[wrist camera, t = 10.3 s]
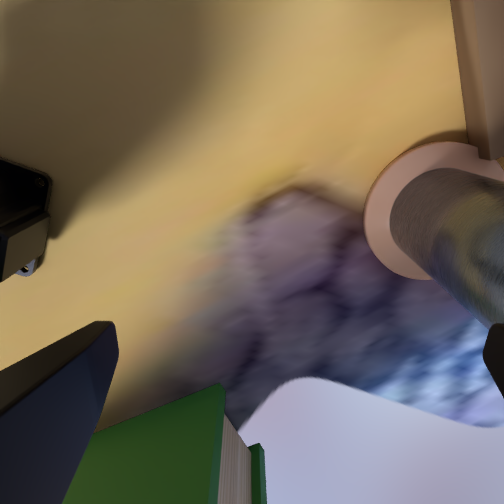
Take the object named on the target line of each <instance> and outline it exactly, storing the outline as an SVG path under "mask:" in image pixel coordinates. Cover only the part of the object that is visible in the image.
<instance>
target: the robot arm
mask: <svg viewBox="0 0 504 504" xmlns="http://www.w3.org/2000/svg"><path fill="white" fill-rule="evenodd" d="M39 178H41V179H42V180H43V181H44V186H42V185H41V184H40V183H39ZM51 190H52V179H51V177H50V176H49V175H48V174H46V173H44V172H41V171H38V170H35V169H33V168H30V167H27V166H24V165H22V164H19V163H16V162H13V161H10V160H8V159H5V158H2V157H0V283H1V282H3V281H4V280H6V279H7V278H9V277H10V276H11V275H13V274H14V273H15V274H18V275H21V276H26V277H27V276H30V275H31V274H33V273H34V272H35V271H36V269H37V264H38V258H39V256H40V255H41V254H43V252H44V248H45V242H46V237H47V232H48V227H49V222H50V215H49V213H48V205H49V200H50V195H51ZM24 266H27V267H28V268H29V270H27V269H25V268H24ZM118 357H119V348H118V341H117V335H116V328H115V325H114V323H113V322H112V321H94V322H92V323H90V324H88V325H87V326H85V327H83V328H81V329H79V330H77V331H75V332H73V333H71V334H70V335H68V336H66V337H64V338H62V339H60V340H58V341H56V342H54V343H53V344H51V345H49V346H47V347H45V348H43V349H41V350H39V351H37V352H35V353H34V354H32V355H30V356H28V357H26V358H24V359H22V360H20V361H18V362H17V363H15V364H13V365H11V366H9V367H7V368H5V369H3V370H1V371H0V504H62V502H63V500H64V498H65V496H66V493H67V491H68V489H69V487H70V484H71V482H72V480H73V478H74V475H75V473H76V471H77V469H78V466H79V464H80V462H81V459H82V457H83V455H84V453H85V450H86V448H87V446H88V444H89V441H90V439H91V437H92V435H93V432H94V430H95V428H96V425H97V423H98V420H99V418H100V415H101V412H102V409H103V406H104V403H105V400H106V397H107V393H108V390H109V387H110V384H111V381H112V377H113V374H114V371H115V368H116V365H117V362H118ZM483 360H484V363H485V365H486V367H487V368H488V370H489V372H490V374H491V376H492V378H493V379H494V381H495V383H496V385H497V387H498V389H499V390H500V392H501V394H502V396H503V398H504V323H495V324H493V325H492V326H491V327H490V329H489V332H488V336H487V339H486V343H485V346H484V349H483Z"/></svg>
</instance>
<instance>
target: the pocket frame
mask: <svg viewBox="0 0 504 504" xmlns="http://www.w3.org/2000/svg"><path fill="white" fill-rule="evenodd" d="M450 2H451V10H452V18H453V26H454V33H455V41H456V49H457V57H458V65H459V72H460V80H461V88H462V96H463V103H464V111H465V119H466V127H467V134H468V142H469V145H472V146H475V147H478V154H479V158H480V159H484V160H489V161H492V160H495V159H498V158H501V157H504V0H450Z"/></svg>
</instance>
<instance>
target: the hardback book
mask: <svg viewBox="0 0 504 504" xmlns="http://www.w3.org/2000/svg"><path fill="white" fill-rule="evenodd" d="M225 397H226V391H225V390H224V388H223V387H222V385H221V384H220V383H218V384H216V385H213V386H211V387H208V388H206V389H203V390H201V391H198V392H196V393H193V394H191V395H188V396H186V397H183V398H181V399H178V400H176V401H173V402H171V403H168V404H166V405H163V406H161V407H158V408H156V409H153V410H151V411H148V412H146V413H144V414H141V415H139V416H136V417H134V418H131V419H129V420H126V421H124V422H121V423H119V424H116V425H114V426H111V427H109V428H106V429H104V430H101V431H99V432H96V433H94V434H93V435H92V437H91V439H90V441H89V444H88V446H87V448H86V450H85V453H84V455H83V457H82V459H81V462H80V464H79V466H78V469H77V471H76V473H75V475H74V478H73V480H72V482H71V484H70V487H69V489H68V491H67V493H66V496H65V498H64V500H63V502H62V504H267V496H266V477H265V456H264V449H263V448H262V446H261V445H260V443H257V444H254V445H252V446H249V447H247V446H246V445H245V443H244V442H243V440H242V439H241V437H240V436H239V434H238V433H237V431H236V430H235V428H234V427H233V425H232V424H231V422H230V421H229V419H228V418H227V417H226V415H225V414H224V410H225Z"/></svg>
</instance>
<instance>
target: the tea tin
mask: <svg viewBox="0 0 504 504" xmlns="http://www.w3.org/2000/svg"><path fill="white" fill-rule="evenodd" d="M389 226H390V232H391V236H392V238H393V240H394V242H395V244H396V245H397V246H398V247H399V249H400V250H401V251H403V252H404V253H405V254H406V255H407V256H408V257H409V258H410V259H411V260H412V261H414V262H415V263H416V264H417V265H418V266H419V267H420V268H421V269H422V270H423V271H425V272H426V273H427V274H428V275H429V276H430V277H431V278H432V279H433V280H435V281H436V282H437V283H438V284H439V285H440V286H441V287H442V288H443V289H444V290H446V291H447V292H448V293H449V294H450V295H451V296H452V297H453V298H454V299H455V300H457V301H458V302H459V303H460V304H461V305H462V306H463V307H464V308H465V309H467V310H468V311H469V312H470V313H471V314H472V315H473V316H474V317H475V318H476V319H478V320H479V321H480V322H481V323H482V324H483V325H484V326H485V327H486V328H487V329H490V327H491V326H492V325H493V324H495V323H504V181H500V180H496V179H493V178H489V177H485V176H482V175H478V174H475V173H471V172H467V171H464V170H460V169H456V168H437V169H433V170H430V171H427V172H424V173H422V174H421V175H419V176H417V177H416V178H414V179H413V180H411V181H410V182H409V183H408V184H407V185H406V186H405V187H404V188H403V189H402V190H401V192H400V193H399V194H398V196H397V198H396V199H395V201H394V204H393V206H392V209H391V212H390V219H389Z"/></svg>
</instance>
